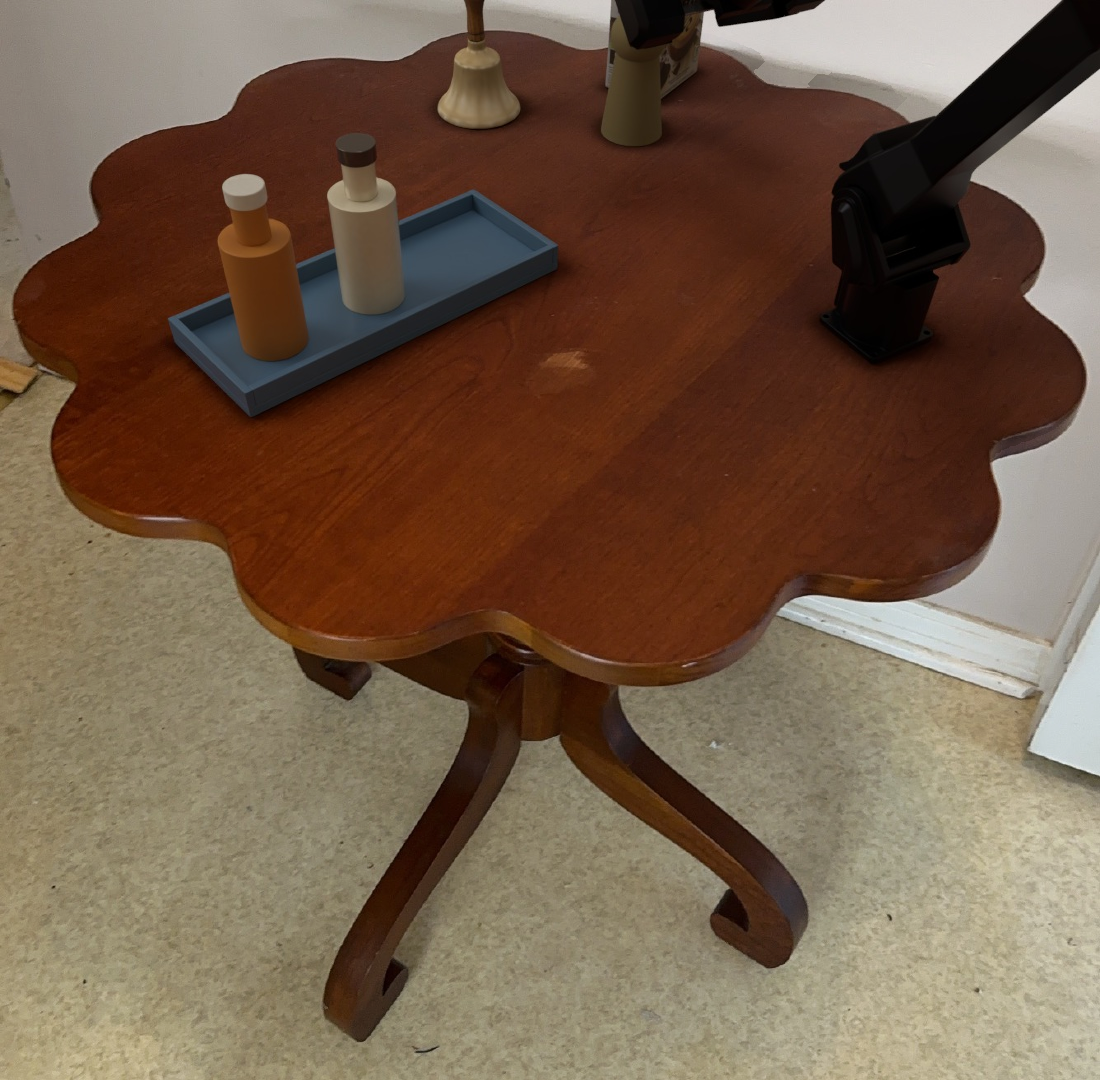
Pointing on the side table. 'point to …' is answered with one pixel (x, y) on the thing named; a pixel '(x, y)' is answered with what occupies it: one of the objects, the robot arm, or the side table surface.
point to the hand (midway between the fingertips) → (674, 30)
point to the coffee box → (669, 52)
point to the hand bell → (478, 82)
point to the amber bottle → (261, 274)
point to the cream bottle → (365, 230)
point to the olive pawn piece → (633, 93)
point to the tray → (352, 338)
